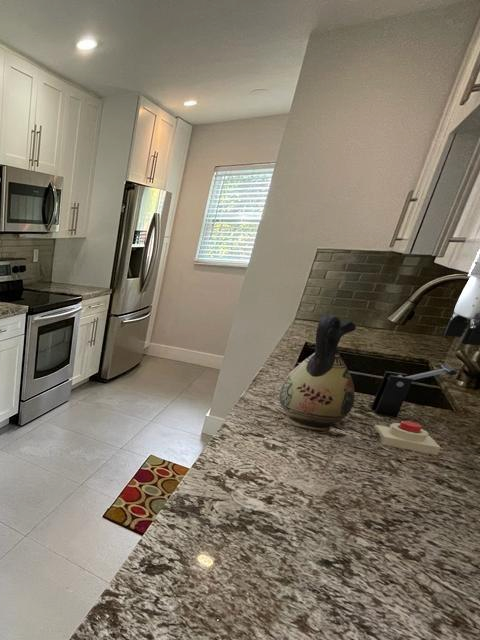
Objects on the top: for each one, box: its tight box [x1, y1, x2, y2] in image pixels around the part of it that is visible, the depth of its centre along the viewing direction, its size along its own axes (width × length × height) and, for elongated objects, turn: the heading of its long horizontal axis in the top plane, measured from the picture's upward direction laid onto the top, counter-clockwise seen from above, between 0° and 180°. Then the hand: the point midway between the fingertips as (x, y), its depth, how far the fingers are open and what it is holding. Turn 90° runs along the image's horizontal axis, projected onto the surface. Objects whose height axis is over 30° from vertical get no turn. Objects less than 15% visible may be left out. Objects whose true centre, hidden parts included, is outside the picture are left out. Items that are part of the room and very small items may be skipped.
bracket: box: [370, 371, 414, 418], centre depth 115 cm, size 12×10×13 cm
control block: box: [373, 422, 442, 456], centre depth 102 cm, size 10×8×4 cm
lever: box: [387, 364, 458, 381], centre depth 111 cm, size 12×6×2 cm, turn 59°
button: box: [399, 420, 423, 433], centre depth 101 cm, size 4×4×2 cm
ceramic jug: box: [278, 315, 357, 433], centre depth 107 cm, size 17×15×30 cm
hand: (460, 340), depth 105 cm, fingers open, 9 cm apart
